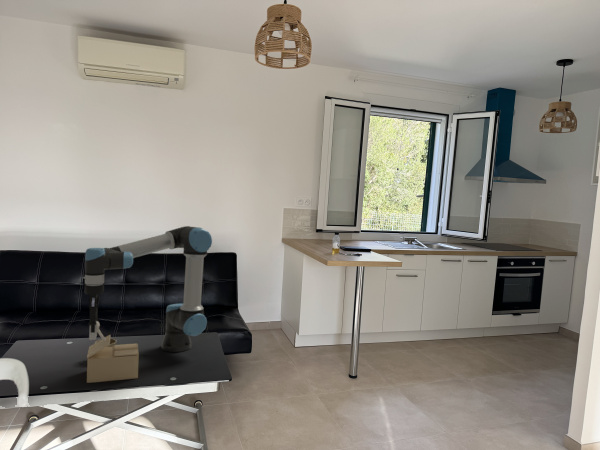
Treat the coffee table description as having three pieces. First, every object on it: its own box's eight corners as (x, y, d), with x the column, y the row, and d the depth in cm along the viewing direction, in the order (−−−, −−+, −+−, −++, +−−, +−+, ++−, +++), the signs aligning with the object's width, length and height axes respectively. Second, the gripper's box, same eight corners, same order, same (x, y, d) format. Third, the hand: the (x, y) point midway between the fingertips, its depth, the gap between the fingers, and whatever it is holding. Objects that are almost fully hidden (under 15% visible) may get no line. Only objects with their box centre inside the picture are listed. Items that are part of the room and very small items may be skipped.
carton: (137, 366, 203) (138, 343, 202) (137, 378, 190) (138, 353, 189) (89, 370, 195) (90, 346, 195) (86, 382, 182) (87, 356, 182)
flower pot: (108, 363, 204) (108, 345, 203) (90, 361, 206) (90, 343, 205) (120, 357, 213) (120, 339, 213) (102, 354, 215) (103, 337, 215)
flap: (111, 335, 197) (97, 315, 195) (109, 344, 185) (95, 323, 182) (90, 347, 194) (76, 327, 192) (87, 358, 182) (72, 336, 179)
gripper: (86, 280, 194) (85, 332, 195) (82, 288, 178) (81, 344, 179) (104, 280, 197) (103, 331, 198) (103, 287, 181) (101, 343, 182)
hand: (93, 337), depth 188 cm, fingers closed on flap, 4 cm apart
